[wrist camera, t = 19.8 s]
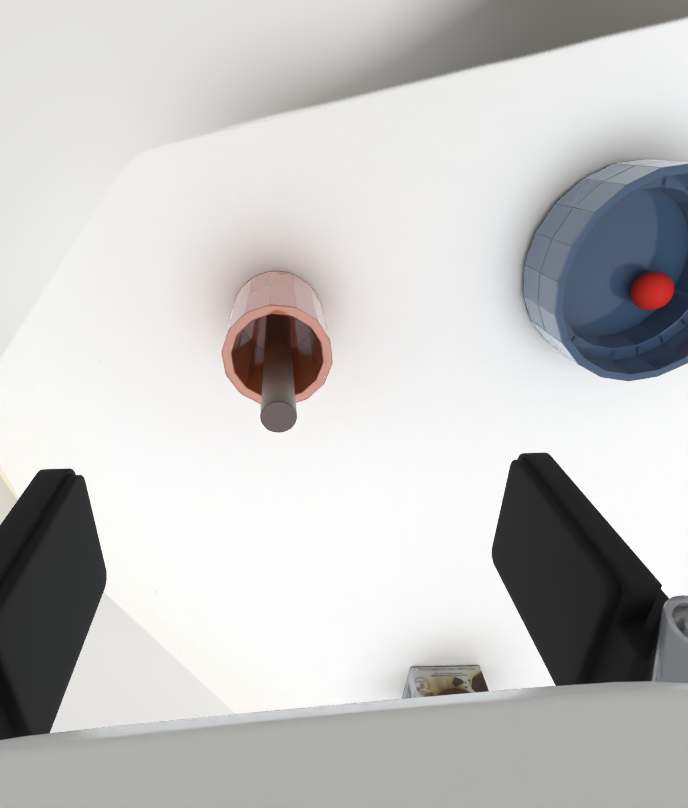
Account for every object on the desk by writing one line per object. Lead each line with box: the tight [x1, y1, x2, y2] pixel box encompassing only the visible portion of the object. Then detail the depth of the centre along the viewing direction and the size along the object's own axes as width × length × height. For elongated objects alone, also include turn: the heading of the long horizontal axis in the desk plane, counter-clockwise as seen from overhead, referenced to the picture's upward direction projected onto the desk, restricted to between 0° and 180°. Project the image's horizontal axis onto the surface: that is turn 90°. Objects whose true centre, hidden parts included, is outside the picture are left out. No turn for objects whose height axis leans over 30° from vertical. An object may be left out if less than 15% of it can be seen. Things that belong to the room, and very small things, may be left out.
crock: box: [222, 271, 332, 404], centre depth 36 cm, size 7×7×9 cm
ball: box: [630, 271, 674, 310], centre depth 41 cm, size 3×3×3 cm
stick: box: [261, 314, 297, 432], centre depth 33 cm, size 2×2×16 cm
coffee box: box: [402, 666, 489, 699], centre depth 57 cm, size 9×6×16 cm
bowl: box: [523, 159, 688, 381], centre depth 39 cm, size 15×15×6 cm
